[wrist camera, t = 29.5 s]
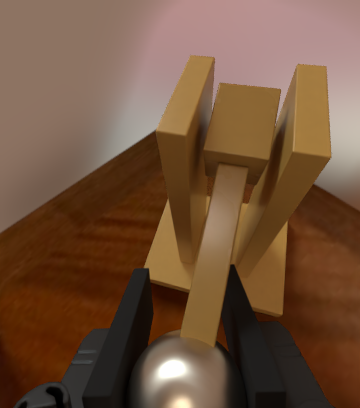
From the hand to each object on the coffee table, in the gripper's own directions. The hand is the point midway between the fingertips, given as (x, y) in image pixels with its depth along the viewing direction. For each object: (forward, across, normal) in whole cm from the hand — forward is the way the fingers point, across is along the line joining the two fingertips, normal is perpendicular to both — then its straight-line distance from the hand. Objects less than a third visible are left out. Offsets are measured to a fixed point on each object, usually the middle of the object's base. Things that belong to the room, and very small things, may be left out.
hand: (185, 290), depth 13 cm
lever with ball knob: (-2, +1, +3) cm, 3 cm away
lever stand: (+7, +3, -1) cm, 8 cm away
